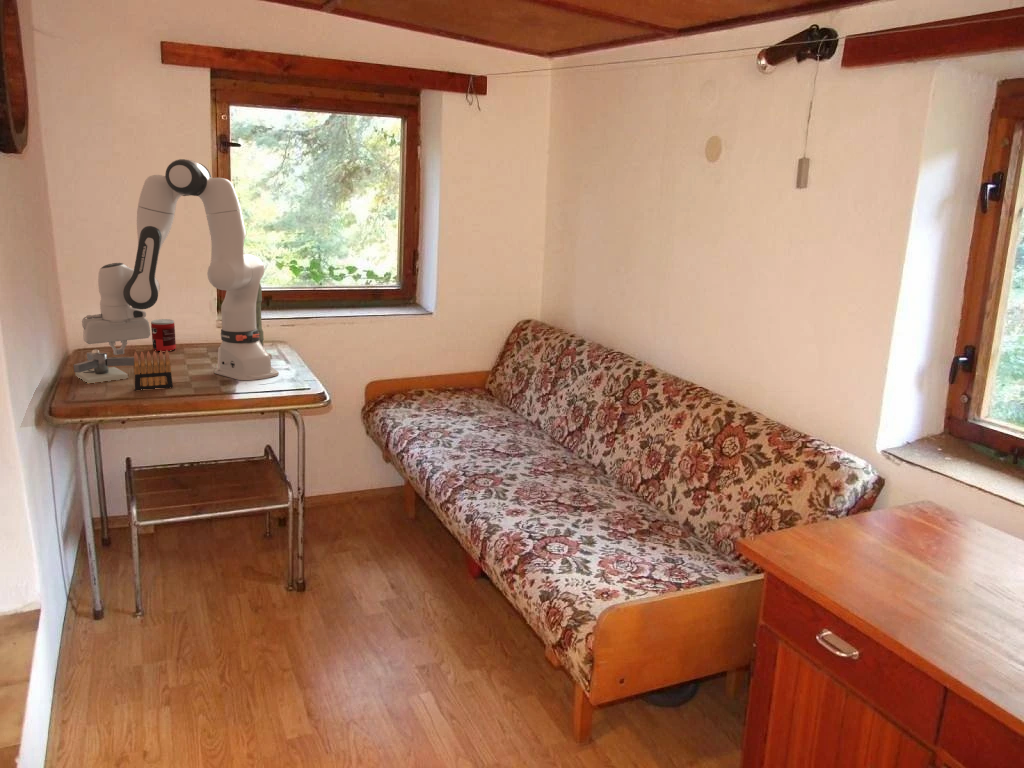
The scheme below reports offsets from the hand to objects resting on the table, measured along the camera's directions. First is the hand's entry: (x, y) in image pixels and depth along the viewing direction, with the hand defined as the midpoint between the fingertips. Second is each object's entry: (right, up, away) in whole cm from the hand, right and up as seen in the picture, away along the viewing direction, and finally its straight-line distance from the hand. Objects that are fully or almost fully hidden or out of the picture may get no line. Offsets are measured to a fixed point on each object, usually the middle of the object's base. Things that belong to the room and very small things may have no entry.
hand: (119, 354), depth 269 cm
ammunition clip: (+20, -12, -18) cm, 29 cm away
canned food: (+2, +2, +32) cm, 32 cm away
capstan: (-3, -6, -8) cm, 10 cm away
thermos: (+30, +4, +44) cm, 53 cm away
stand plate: (-1, -8, -9) cm, 12 cm away
